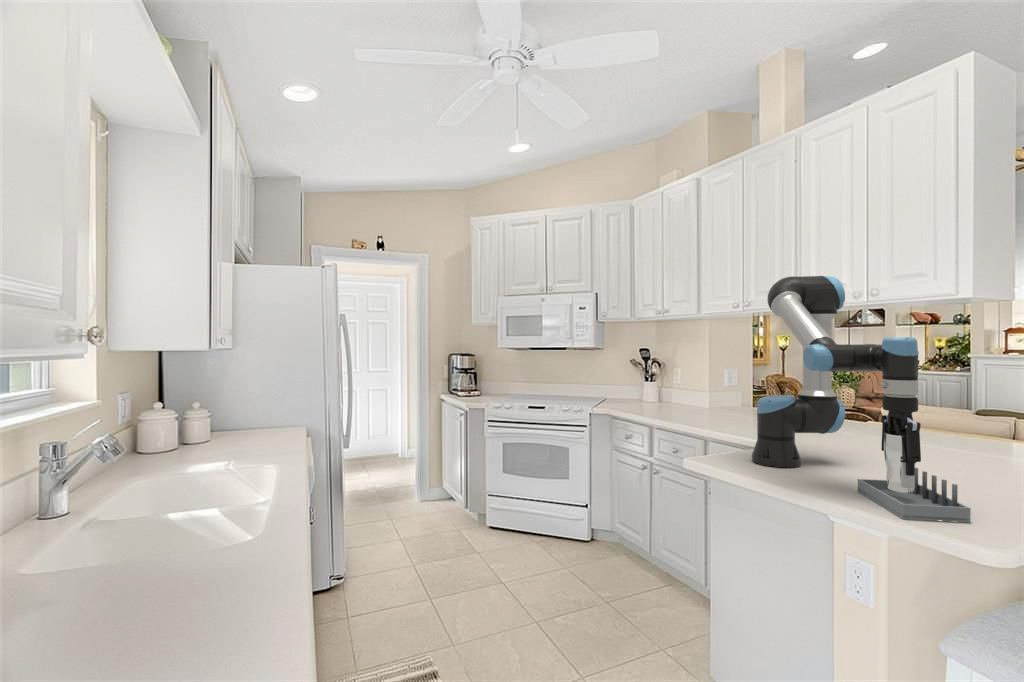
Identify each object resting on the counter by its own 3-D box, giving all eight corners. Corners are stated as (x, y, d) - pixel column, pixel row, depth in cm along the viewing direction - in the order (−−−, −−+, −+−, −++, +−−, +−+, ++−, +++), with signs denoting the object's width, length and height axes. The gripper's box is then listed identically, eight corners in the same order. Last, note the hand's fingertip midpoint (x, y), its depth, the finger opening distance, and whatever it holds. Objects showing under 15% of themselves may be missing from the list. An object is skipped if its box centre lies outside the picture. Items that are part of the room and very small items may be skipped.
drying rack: (857, 491, 146) (857, 463, 146) (913, 493, 143) (913, 465, 143) (903, 519, 123) (903, 486, 123) (970, 523, 121) (970, 488, 121)
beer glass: (923, 495, 131) (922, 436, 131) (892, 494, 133) (891, 435, 133) (908, 488, 138) (907, 432, 138) (878, 486, 140) (878, 431, 140)
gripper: (866, 392, 146) (866, 473, 146) (904, 399, 127) (905, 493, 127) (895, 392, 144) (896, 475, 144) (939, 400, 125) (939, 495, 125)
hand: (900, 483), depth 135 cm, fingers closed on beer glass, 6 cm apart
